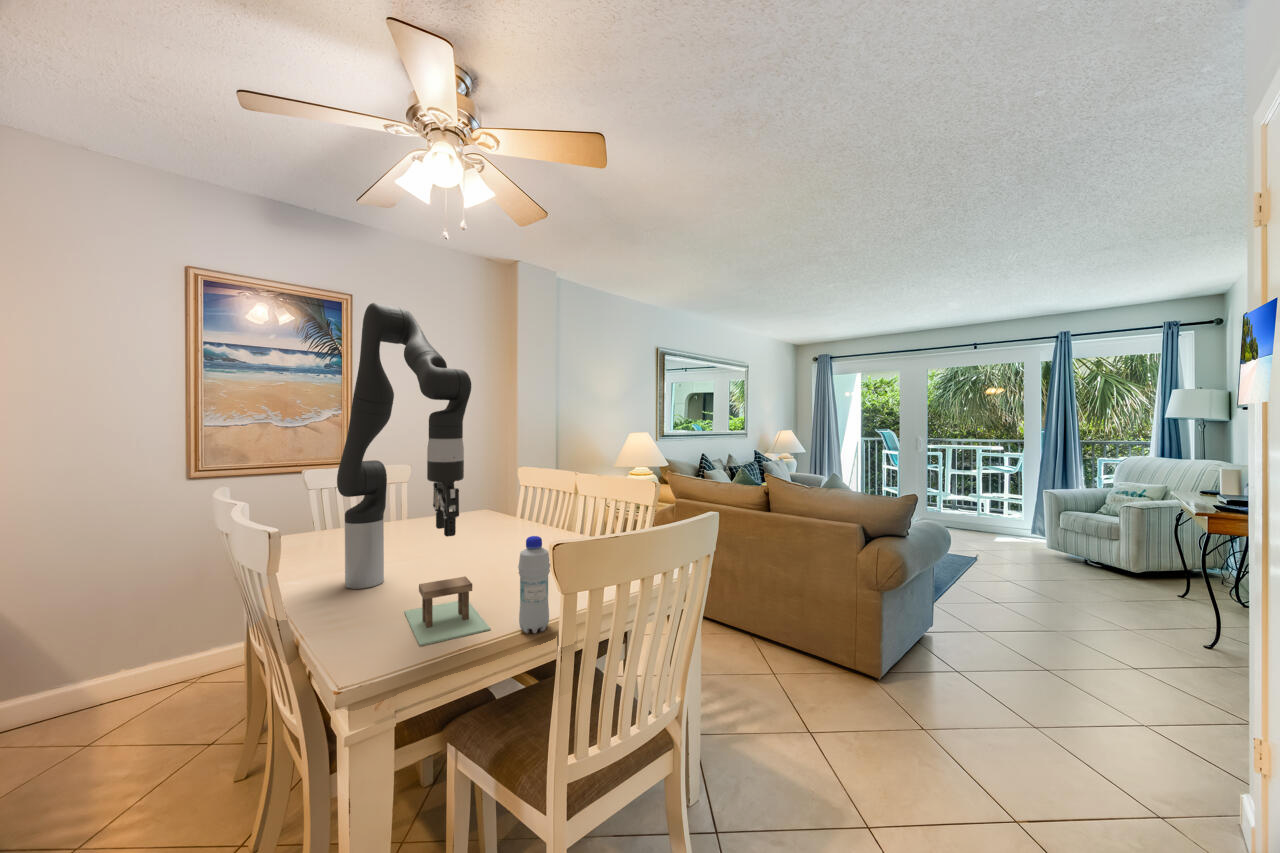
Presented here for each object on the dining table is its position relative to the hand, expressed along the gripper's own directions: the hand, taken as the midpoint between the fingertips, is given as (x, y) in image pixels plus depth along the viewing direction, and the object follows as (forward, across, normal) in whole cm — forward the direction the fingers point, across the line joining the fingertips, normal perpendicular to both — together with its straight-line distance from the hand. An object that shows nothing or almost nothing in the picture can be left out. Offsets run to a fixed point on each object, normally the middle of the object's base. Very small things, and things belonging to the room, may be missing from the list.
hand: (445, 531), depth 110 cm
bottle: (+20, -15, -15) cm, 29 cm away
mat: (+20, 0, 0) cm, 20 cm away
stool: (+20, 0, 0) cm, 20 cm away
